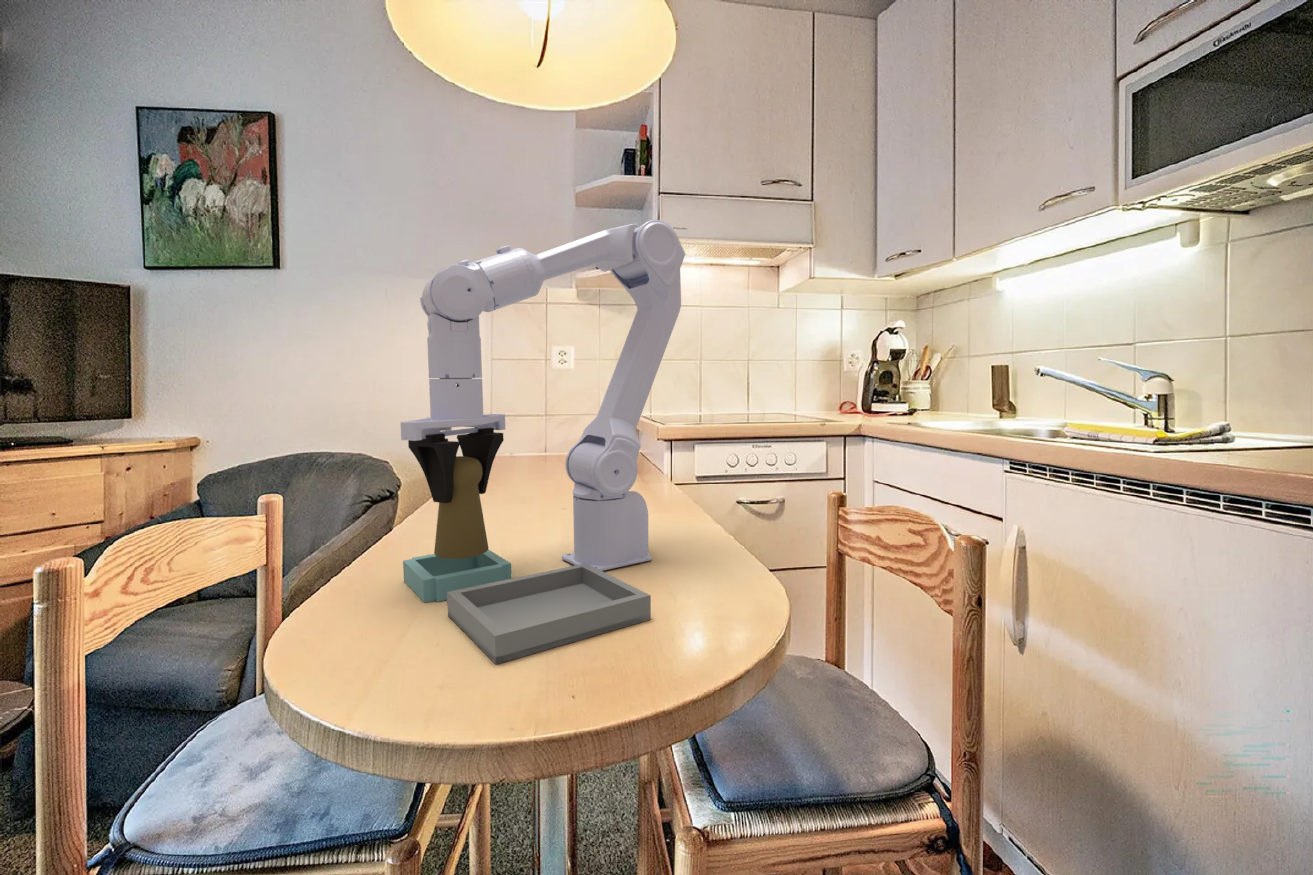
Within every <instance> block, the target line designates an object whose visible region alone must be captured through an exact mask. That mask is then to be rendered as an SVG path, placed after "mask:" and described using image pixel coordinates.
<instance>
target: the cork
mask: <svg viewBox="0 0 1313 875" xmlns="http://www.w3.org/2000/svg"><path fill="white" fill-rule="evenodd" d="M481 478H482V466H481V463H480V462H479V460H477V459H475V458H472V457H465V456H463V455H460V456H459V455H456V458H455V464H454V471H453V496H452V501H451V502H450V503H439V502H438V510H437V520H436V531H435V541H434V542H435V543H434V551H433V554H435V556H437V557H440V558H446V559H460V558H469V557H474V556H478V555H481V554H483V553H485V552H487V551H488V549H489V542H488V538H487V531H486V525H485V519H484V514H483V508H482V502H481V496H480V495H481V494H479V489H478V484H479V482H480V481H481ZM489 550H490V549H489Z"/></svg>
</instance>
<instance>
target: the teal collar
mask: <svg viewBox="0 0 1313 875" xmlns="http://www.w3.org/2000/svg"><path fill="white" fill-rule="evenodd" d="M402 565H403V566H402V568H403V582H404V583H405V584H406V585H407V586H408V587H409V588H410V590H412V592H414V594H415V595H416V596H417V597H418V598H419V599H420V600H421V601H422V602H423V603H424V604H425V603H430V602H434V601H436V603H438V602H444V601H447V592H450V591H454V590H459V589H464V588H469V587H474V586H478V585H483V584H488V583H493V582H498V581H503V580H507V579H512V563H511V562H510V561H508V560H506V559H505V558H503V557H502V556H500V555H498V554H497V553H495V552H493V551H492V550H491V549H488V551H487V552H485V553H483V554H481V555H478V556H474V557H469V558H460V559H446V558H440V557H437V556H435V554H434V553H432V554H426V555H420V556H413V557H412V558H410V559H405V560H403V561H402Z"/></svg>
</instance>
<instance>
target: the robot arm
mask: <svg viewBox="0 0 1313 875" xmlns="http://www.w3.org/2000/svg"><path fill="white" fill-rule="evenodd" d="M638 226H639V223H631V224H625V225H621V226H618V227H617V226H616V227H612V228H609V229H608V228H607V229H605V230H601V231H598V232H595V233H592V234H590V235H586V236H584V237H582V238H578V239H577V240H574V241H570V242H567V243H566V244H562V245H558V246H557V247H554V248H551V249H548V250H545V251H543V252H540V253H536V254H535V253H531V252H530V251H528V250H526V249H524V248H522V247H517V248H514V249H511V246H510V244H508V245H505V246H501V247H499V248H498V249H496V251H495V252H496V254H495V255H491V256H487V257H485V258H481V259H479V260H478V259H477V260H475V261H472V262H470V260H469V259H464V260H459V262H458V264H451V265H449V266H448V267H447V268H444V269H441V270H440V271H439V272H437V273H436V274H435V275H434V276H432V277H431V278H429V280H428V281H427V282H426V283H425V285H424V287H423V289H422V294H421V295H422V296H421V297H420V298H419V302H420V306H421V308H422V310H423V312H424V313H425V315H426V316H427V330H428V336H427V339H426V340H427V342H426V344H427V360H428V362H427V364H428V378H429V379H428V382H429V383H428V385H429V387H428V388H429V410H430V414H429V415H430V416H427V417H426V418H422V419H414V420H406V421H400V439H401V441H407V443H408V449H409V450H410V451H411V453H412V454H413V456H414V457H415V458H416V461H417V462H418V464H419V466H420V467H421V470H422V473H423V474H424V476H425V479H426V483H427V486H428V489H429V491H430V494H431V498H432V501H433V503H438V504H439V503H450V502H451V501H452V496H453V471H454V464H455V458H456V456H458V450H459V447H460V450H461V452H462V456H465V457H472V458H475V459H477V460H479V462H480V463H481V466H482V478H481V481H480V482H479V484H478V489H479V495H484V494H486V492H487V487H488V484H489V480H490V475H491V471H492V466H493V463H494V461H495V459H496V458H495V457H496V455H497V453H498V451H499V449H500V448H501V446H502V444H503V442H504V441H505V440H504V433H503V432H495V431H505V430H506V414H503V413H488V414H484V395H483V394H484V392H483V389H484V388H483V368H482V339H481V336H480V315H481V314H482V313H483V312H485V313H491V312H493V311H496V310H499V309H503V308H506V307H508V306H511V305H514V304H516V303H519V302H523V301H524V300H527V299H530V298H533V297H536V296H538V294H539V292H541V288H542V285H543V284H544V281H547V280H550V279H554V278H557V277H559V276H562V275H565V274H569V273H572V272H575V271H579V270H581V269H585V268H589V267H591V266H595V267H596V268H597V269H599V270H601V272H605V273H606V272H608V271H610V273H611V274H612V275H613V276H614V278H615V279H616V280H617V281H618V282H619V283H620V285H621V286H622V287H623V289H624V290H625V291H626V292H627V293H628V294H629V295H630V297H632V300H633V302H634V304H635V305H636V308H637V310H636V313H635V315H634V318H633V321H632V322H631V323H632V324H631V326H630V328H629V331H628V334H627V337H626V339H625V341H624V344H623V347H622V349H621V352H620V354H619V358H618V359H617V362H616V364H615V367H614V371H613V373H612V377H610V381H609V383H608V386H607V388H606V391H605V394H604V397H603V398H602V402H601V405H600V407H599V410H598V412H597V415H596V417H595V418H594V419H593V420H592V421H591V422H590V423H589V424H588V425H587V426H586V427H585V428H584V429H583V432H582V435H581V436H580V438H579V439H578V441H577V442H576V443H575V444H574V445H573V446H572V447H571V448H570V449H569V450H568V453H567V454H566V458H565V463H564V464H565V465H564V466H565V471H566V475H567V476H568V478H569V479H570V481H572V482H573V483H574V488H573V490H572V502H573V503H572V507H573V510H572V511H573V512H572V513H573V517H572V518H573V552H570V553H564V554H561V559H562V560H563V561H566V562H568V563H570V564H571V565H572V566H575V565H580V564H584V563H586V564H588V565H591V566H593V567H595V568H597V569H599V570H601V571H603V572H604V571H607V570H612V569H617V568H621V567H626V566H630V565H634V564H640V563H643V562H649V561H651V560H653V558H652V557H653V556H652V555H650V554H649V509H648V504H647V503H646V500H645V498H644V497H643V495H642V494H641V493H640V492H638V491H636V490H631V489H632V488H633V486H634V484H635V483H636V480H637V477H638V471H639V470H638V457H639V454H640V453H639V452H640V450H641V448H642V446H641V442H640V439H639V436H638V434H637V426H639V425H638V424H639V421H640V420H641V416H642V414H643V411H644V408H645V405H646V403H647V400H648V397H649V395H650V393H651V390H652V386H653V384H654V382H655V379H656V377H657V374H658V371H659V368H660V365H661V363H662V361H663V360H662V359H663V357H664V354H665V352H666V349H667V347H668V344H669V342H670V338H671V336H672V333H673V330H674V328H675V324H676V322H677V320H678V318H679V313H680V311H681V307H682V289H681V287H682V286H681V285H682V284H681V267H682V264H683V261H684V259H685V256H686V252H685V251H684V247H683V246H682V243H681V241H680V239H679V236H678V234H677V233H676V231H675V229H674V228H673V227H672V226H671V224H669V223H667V222H665V221H663V220H660V219H651V220H648V221H646V222H644V223H643V224H642V225H641V226H639V227H638ZM459 427H461V429H453V428H459ZM462 427H465V428H462ZM449 436H456V439H457V441H455V440H453V441H452V440H451V441H450V440H449V438H446V437H449Z"/></svg>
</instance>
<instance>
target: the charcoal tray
mask: <svg viewBox="0 0 1313 875" xmlns="http://www.w3.org/2000/svg"><path fill="white" fill-rule="evenodd" d="M511 578H512V577H511ZM651 596H652V595H651V594H648V593H647V592H645V591H643V590H641V589H638V588H637V587H635V586H633V585H631V584H629V583H627V582H624V581H623V580H621V579H618V578H617V577H616V576H612V575H610V574H608V573H607V572H604V571H601V570H599V569H597V568H595V567H593V566H591V565H588V564H586V563H584V564H580V565H571V566H566V567H561V568H557V569H552V570H547V571H542V572H537V573H532V574H528V575H523V576H518V577H513V578H512V579H507V580H503V581H498V582H493V583H488V584H483V585H478V586H474V587H469V588H464V589H459V590H454V591H450V592H447V600H446V601H447V616H448V617H449V619H450V620H451V621H452V622H453V623H454V624H455V625H456V626H457V627H458V628H459V629H460V630H461V631H462V632H463V633H464V634H465V635H466V636H467V637H468V638H469V639H470V640H471V641H472V642H473V643H474V645H476V646H477V647H478V648H479V649H480V651H482V653H484V654H485V655H486V656H487V657H488V659H490V660H491V662H492V663H494V665H499V664H503V663H506V662H509V661H510V662H511V661H513V660H516V659H521V658H523V657H528V656H529V655H533V654H538V653H541V652H544V651H548V650H550V649H554V648H558V647H561V646H565V645H568V644H572V643H575V642H579V641H582V640H585V639H589V638H592V637H595V636H599V635H603V634H606V633H609V632H613V631H616V630H620V629H624V628H627V627H630V626H634V625H637V624H641V623H644V622H646V621H647V622H648V621H651V619H652V617H651V616H652V614H651V612H652V611H651V606H652V605H651V602H652V601H651V600H652V599H651V598H652V597H651Z"/></svg>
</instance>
